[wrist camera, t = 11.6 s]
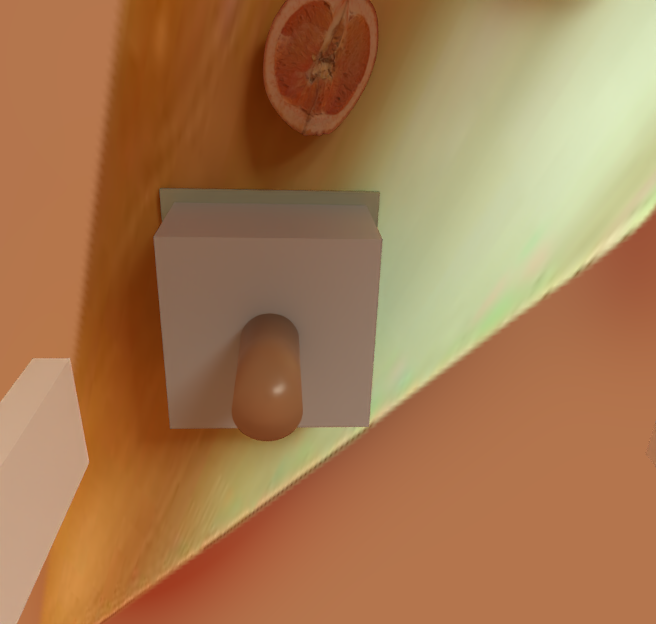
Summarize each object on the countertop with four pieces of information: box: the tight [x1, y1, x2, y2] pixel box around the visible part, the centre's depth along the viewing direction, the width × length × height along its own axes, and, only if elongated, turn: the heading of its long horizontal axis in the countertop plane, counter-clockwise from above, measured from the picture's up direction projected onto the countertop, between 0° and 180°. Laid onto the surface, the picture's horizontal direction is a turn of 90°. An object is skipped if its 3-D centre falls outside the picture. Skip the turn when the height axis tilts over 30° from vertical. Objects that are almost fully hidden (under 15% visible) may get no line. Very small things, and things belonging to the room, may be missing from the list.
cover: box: [153, 202, 382, 441], centre depth 39 cm, size 13×13×16 cm
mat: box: [159, 188, 380, 227], centre depth 46 cm, size 15×15×1 cm
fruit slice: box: [263, 0, 378, 136], centre depth 38 cm, size 8×7×5 cm
